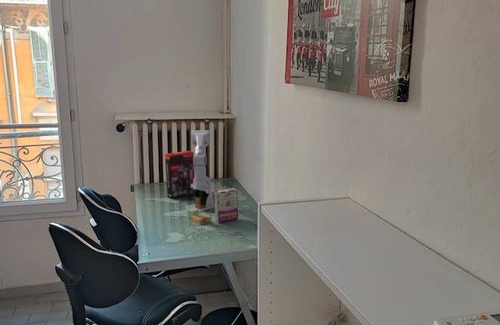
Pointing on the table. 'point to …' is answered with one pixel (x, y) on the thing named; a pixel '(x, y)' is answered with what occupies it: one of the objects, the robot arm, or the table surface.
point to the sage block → (192, 212)
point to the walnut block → (199, 203)
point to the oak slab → (201, 219)
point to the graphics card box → (179, 174)
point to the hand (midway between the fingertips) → (201, 204)
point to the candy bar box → (226, 205)
